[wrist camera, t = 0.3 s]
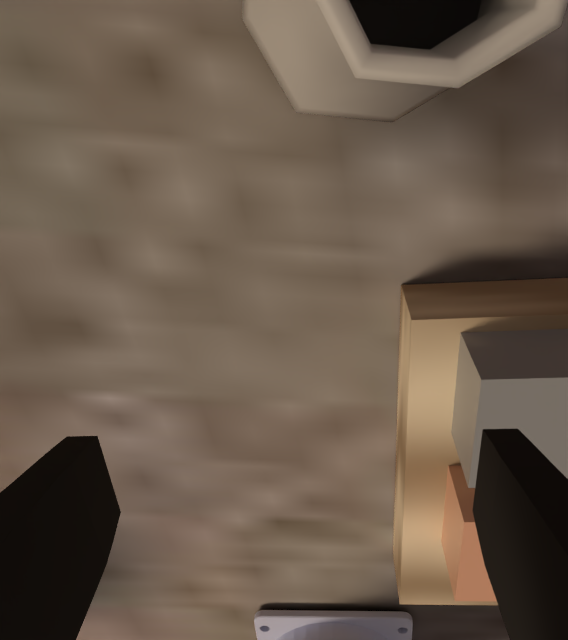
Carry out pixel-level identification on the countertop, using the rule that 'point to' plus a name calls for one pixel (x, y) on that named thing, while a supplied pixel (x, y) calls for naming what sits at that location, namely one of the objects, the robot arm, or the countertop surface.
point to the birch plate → (446, 409)
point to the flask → (389, 48)
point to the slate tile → (512, 392)
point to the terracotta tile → (463, 542)
